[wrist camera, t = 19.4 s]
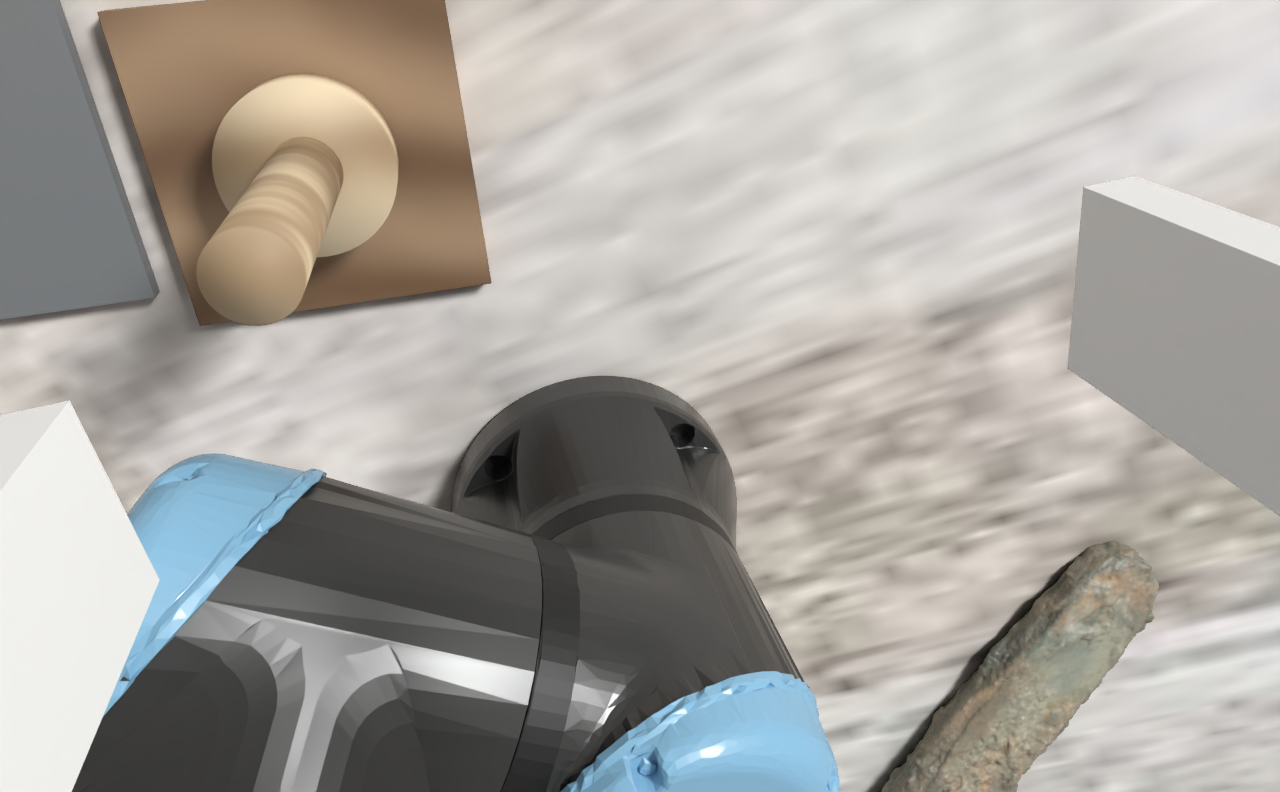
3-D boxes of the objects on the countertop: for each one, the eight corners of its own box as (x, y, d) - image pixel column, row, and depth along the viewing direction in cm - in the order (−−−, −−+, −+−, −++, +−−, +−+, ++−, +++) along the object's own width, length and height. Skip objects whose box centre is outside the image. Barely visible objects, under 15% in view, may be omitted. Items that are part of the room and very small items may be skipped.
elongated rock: (1159, 550, 64) (1054, 504, 61) (1216, 594, 59) (1105, 546, 56) (895, 909, 73) (791, 885, 70) (926, 972, 68) (816, 949, 65)
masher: (413, 228, 41) (405, 371, 28) (250, 250, 40) (159, 410, 27) (380, 62, 38) (352, 133, 24) (202, 83, 37) (69, 168, 23)
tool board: (490, 276, 44) (491, 283, 43) (204, 317, 42) (200, 325, 41) (440, -23, 38) (441, -22, 37) (105, 10, 36) (97, 12, 35)
